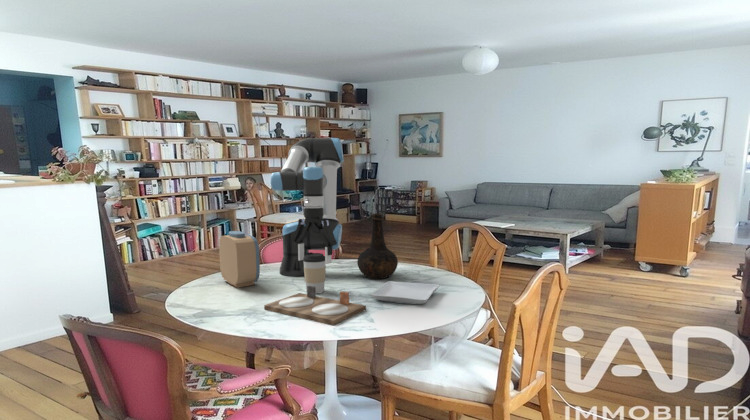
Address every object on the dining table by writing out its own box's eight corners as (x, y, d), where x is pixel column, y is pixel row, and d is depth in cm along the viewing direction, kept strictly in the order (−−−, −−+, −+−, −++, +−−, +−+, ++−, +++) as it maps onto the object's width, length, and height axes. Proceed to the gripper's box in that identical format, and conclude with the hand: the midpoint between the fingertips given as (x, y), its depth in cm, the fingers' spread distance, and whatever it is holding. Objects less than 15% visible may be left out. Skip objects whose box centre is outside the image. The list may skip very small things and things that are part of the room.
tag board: (264, 309, 162) (263, 293, 162) (299, 296, 177) (299, 282, 177) (333, 325, 146) (333, 308, 145) (365, 309, 161) (365, 294, 161)
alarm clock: (260, 286, 193) (259, 234, 190) (238, 290, 187) (236, 236, 185) (241, 276, 209) (240, 228, 207) (220, 280, 203) (218, 230, 201)
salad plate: (369, 303, 170) (369, 293, 170) (388, 288, 190) (388, 280, 190) (426, 309, 163) (426, 299, 163) (440, 293, 183) (440, 284, 182)
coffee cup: (331, 291, 185) (331, 253, 184) (313, 295, 178) (312, 256, 177) (316, 287, 191) (316, 250, 190) (298, 291, 185) (298, 253, 183)
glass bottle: (384, 270, 220) (383, 210, 217) (405, 278, 205) (405, 214, 202) (350, 275, 211) (349, 213, 208) (370, 283, 196) (370, 216, 193)
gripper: (283, 206, 185) (284, 259, 187) (333, 209, 172) (334, 266, 173) (296, 205, 191) (297, 257, 193) (345, 207, 178) (346, 263, 180)
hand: (314, 261), depth 183 cm, fingers open, 13 cm apart
